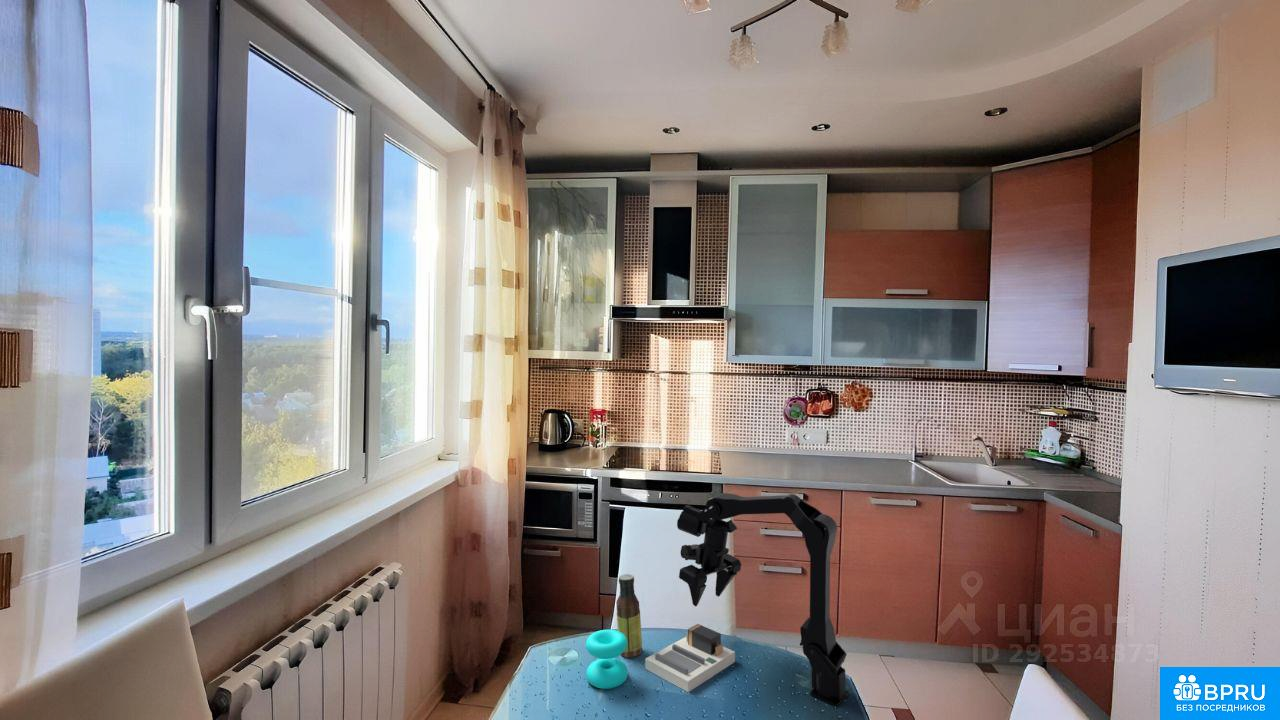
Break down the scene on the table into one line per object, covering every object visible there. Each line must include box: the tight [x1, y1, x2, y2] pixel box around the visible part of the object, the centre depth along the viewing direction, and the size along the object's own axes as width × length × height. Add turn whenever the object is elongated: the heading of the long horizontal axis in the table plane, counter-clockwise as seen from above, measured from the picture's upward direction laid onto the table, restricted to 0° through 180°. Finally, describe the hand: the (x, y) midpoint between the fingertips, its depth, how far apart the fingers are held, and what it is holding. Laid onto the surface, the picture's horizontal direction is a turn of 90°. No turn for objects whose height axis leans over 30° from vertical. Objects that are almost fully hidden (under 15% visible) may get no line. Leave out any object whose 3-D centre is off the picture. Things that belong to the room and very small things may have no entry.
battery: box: [687, 623, 722, 655], centre depth 138 cm, size 8×4×4 cm, turn 44°
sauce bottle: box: [615, 573, 643, 658], centre depth 141 cm, size 7×6×20 cm
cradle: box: [644, 633, 736, 693], centre depth 134 cm, size 14×18×4 cm
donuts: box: [585, 629, 629, 690], centre depth 129 cm, size 10×10×10 cm
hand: (706, 600), depth 139 cm, fingers open, 9 cm apart
